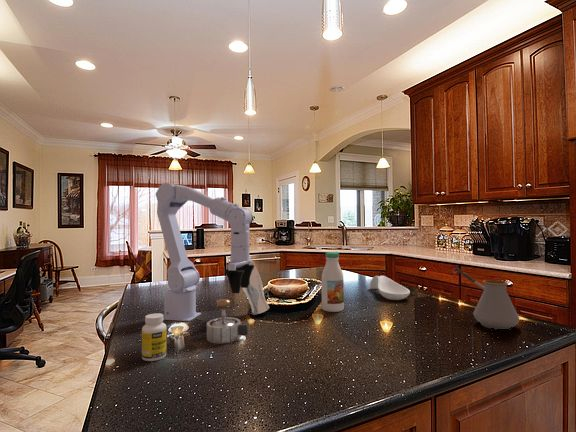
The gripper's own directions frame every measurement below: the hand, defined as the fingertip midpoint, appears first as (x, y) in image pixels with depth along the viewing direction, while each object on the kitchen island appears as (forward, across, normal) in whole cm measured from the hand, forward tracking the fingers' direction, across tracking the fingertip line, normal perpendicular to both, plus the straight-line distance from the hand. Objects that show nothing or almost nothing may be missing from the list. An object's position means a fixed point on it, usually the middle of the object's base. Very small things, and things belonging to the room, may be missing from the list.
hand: (240, 290), depth 101 cm
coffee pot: (+10, +15, -73) cm, 75 cm away
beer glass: (+9, +10, -4) cm, 14 cm away
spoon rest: (+10, +44, -47) cm, 66 cm away
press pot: (+10, -12, -1) cm, 16 cm away
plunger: (+7, -12, 0) cm, 14 cm away
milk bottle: (+10, +20, -27) cm, 35 cm away
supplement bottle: (+10, -27, +11) cm, 31 cm away
